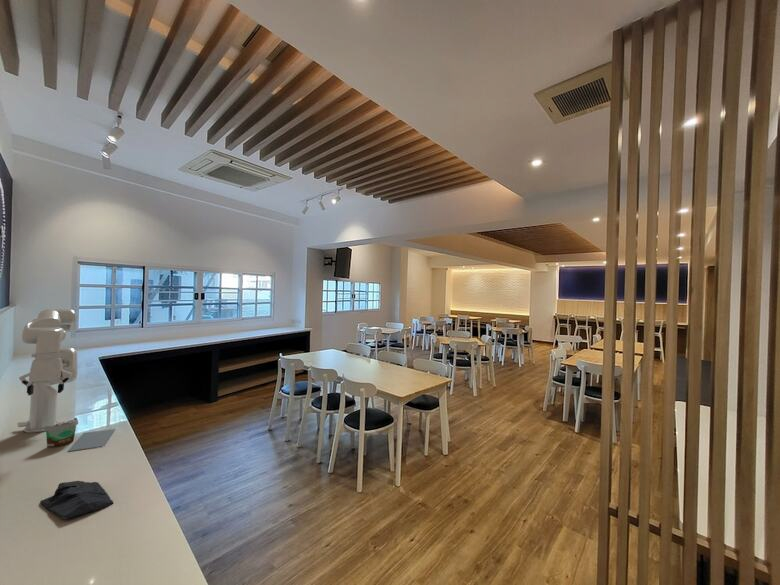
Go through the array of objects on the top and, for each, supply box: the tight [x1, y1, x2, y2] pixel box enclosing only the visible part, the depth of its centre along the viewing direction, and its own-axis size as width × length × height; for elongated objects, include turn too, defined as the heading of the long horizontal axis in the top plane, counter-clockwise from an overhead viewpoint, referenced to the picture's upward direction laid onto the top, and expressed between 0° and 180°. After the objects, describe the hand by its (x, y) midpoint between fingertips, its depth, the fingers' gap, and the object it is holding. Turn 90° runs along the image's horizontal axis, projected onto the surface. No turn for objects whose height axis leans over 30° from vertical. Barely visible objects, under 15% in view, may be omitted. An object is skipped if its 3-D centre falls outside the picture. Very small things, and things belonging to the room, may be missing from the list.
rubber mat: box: [67, 428, 116, 453], centre depth 157 cm, size 12×22×1 cm, turn 30°
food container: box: [43, 417, 79, 449], centre depth 152 cm, size 12×6×10 cm, turn 168°
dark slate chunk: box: [39, 480, 114, 520], centre depth 111 cm, size 15×22×5 cm
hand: (45, 393), depth 149 cm, fingers open, 9 cm apart
